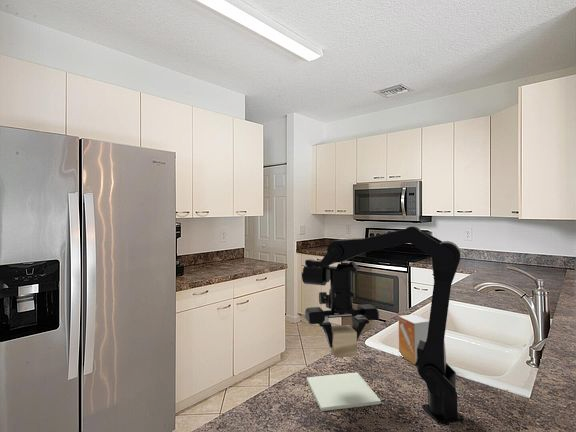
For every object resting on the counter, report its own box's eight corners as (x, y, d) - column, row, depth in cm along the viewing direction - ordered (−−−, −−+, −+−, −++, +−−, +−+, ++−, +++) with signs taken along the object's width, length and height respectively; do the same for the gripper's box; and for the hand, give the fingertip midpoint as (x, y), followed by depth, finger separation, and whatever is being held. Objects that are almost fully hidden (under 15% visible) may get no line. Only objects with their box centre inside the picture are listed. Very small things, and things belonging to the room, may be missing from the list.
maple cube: (357, 355, 84) (356, 332, 84) (334, 357, 83) (334, 333, 83) (349, 346, 90) (348, 324, 90) (328, 348, 89) (327, 326, 89)
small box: (398, 355, 108) (397, 315, 108) (414, 352, 109) (414, 313, 110) (415, 365, 100) (414, 323, 100) (432, 362, 102) (431, 320, 102)
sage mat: (380, 404, 80) (380, 400, 80) (321, 411, 77) (321, 407, 77) (357, 375, 94) (357, 372, 94) (306, 380, 92) (306, 377, 92)
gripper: (363, 279, 96) (363, 333, 96) (300, 282, 93) (301, 337, 93) (379, 287, 85) (380, 348, 85) (309, 291, 82) (310, 353, 82)
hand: (342, 346), depth 86 cm, fingers closed on maple cube, 6 cm apart
